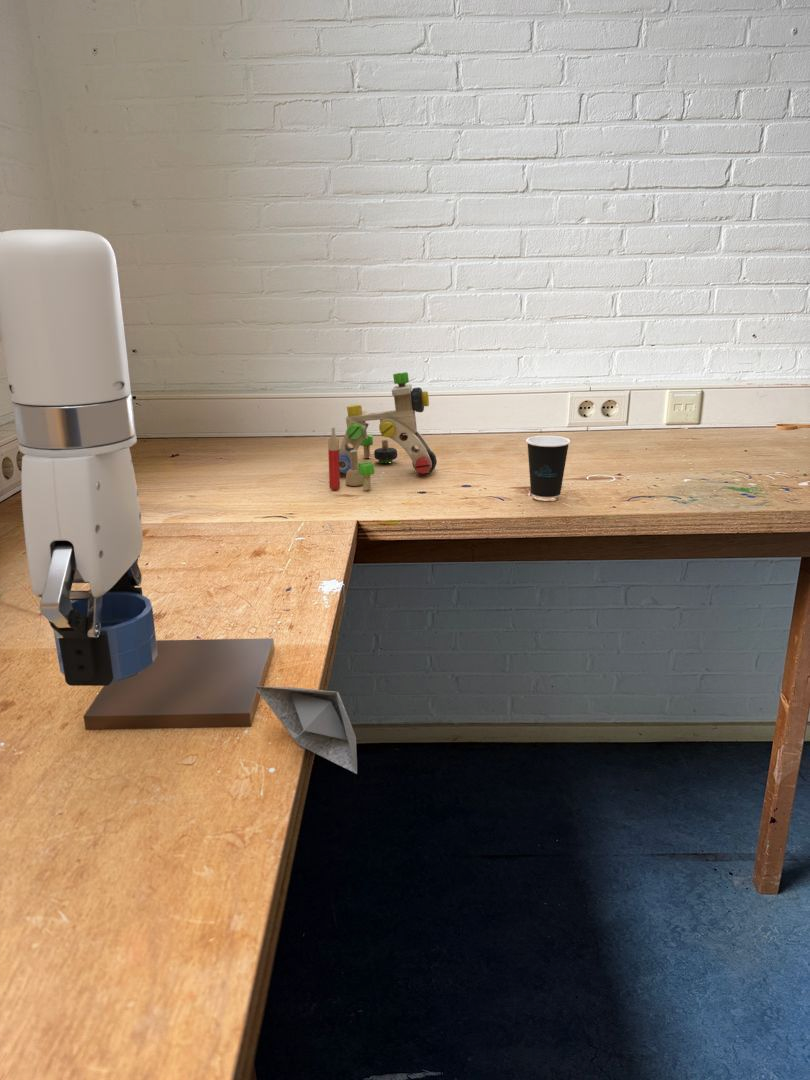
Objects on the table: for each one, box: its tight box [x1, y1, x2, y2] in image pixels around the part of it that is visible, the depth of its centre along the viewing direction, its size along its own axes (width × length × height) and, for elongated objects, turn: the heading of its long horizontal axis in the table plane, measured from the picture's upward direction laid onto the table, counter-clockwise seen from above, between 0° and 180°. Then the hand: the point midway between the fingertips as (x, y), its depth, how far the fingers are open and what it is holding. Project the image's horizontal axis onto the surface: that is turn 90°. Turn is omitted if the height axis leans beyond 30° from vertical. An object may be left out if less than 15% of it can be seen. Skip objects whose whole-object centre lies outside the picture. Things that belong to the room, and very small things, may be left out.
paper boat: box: [254, 686, 358, 775], centre depth 72 cm, size 12×6×9 cm
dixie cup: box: [525, 435, 571, 499], centre depth 146 cm, size 8×8×11 cm
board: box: [83, 637, 275, 730], centre depth 84 cm, size 16×16×2 cm
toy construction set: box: [327, 371, 438, 491], centre depth 161 cm, size 27×22×21 cm
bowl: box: [52, 592, 158, 683], centre depth 60 cm, size 7×7×5 cm
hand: (109, 656), depth 60 cm, fingers closed on bowl, 7 cm apart
